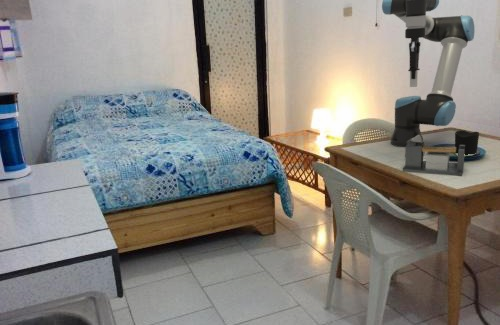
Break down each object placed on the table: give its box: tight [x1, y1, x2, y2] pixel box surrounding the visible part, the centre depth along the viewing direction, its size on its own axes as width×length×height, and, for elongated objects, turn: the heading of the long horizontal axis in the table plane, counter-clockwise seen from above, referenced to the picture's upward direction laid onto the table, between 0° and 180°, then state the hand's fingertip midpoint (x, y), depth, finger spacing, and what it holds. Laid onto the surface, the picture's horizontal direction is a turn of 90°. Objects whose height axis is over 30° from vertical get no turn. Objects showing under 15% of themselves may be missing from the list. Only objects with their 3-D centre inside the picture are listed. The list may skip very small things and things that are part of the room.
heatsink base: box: [402, 141, 465, 177], centre depth 178 cm, size 22×13×10 cm, turn 63°
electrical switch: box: [406, 135, 426, 156], centre depth 196 cm, size 9×5×9 cm, turn 141°
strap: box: [422, 146, 456, 153], centre depth 177 cm, size 15×4×1 cm, turn 63°
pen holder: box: [454, 129, 480, 155], centre depth 193 cm, size 9×9×10 cm
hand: (413, 86), depth 182 cm, fingers closed
